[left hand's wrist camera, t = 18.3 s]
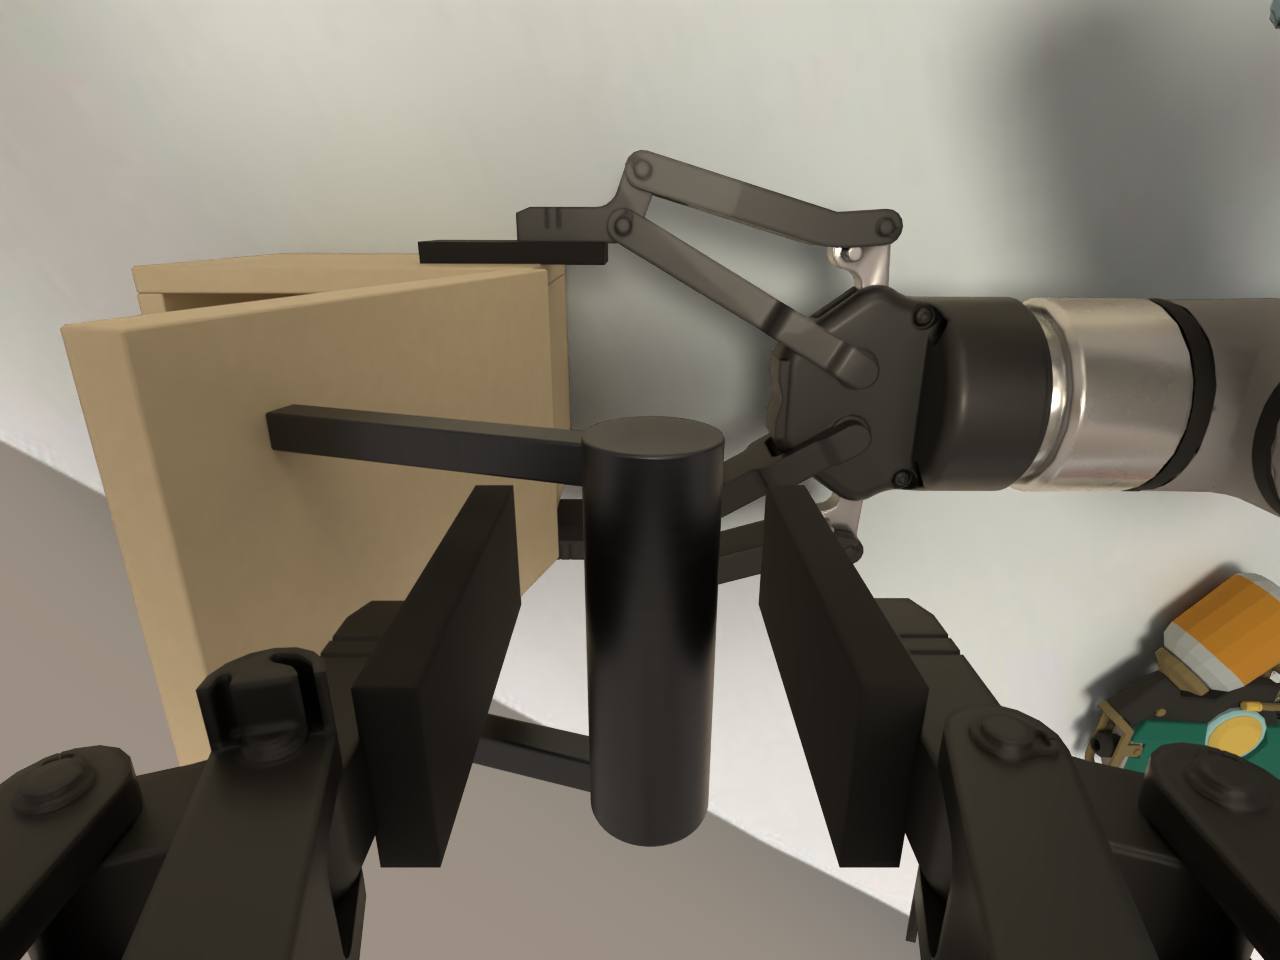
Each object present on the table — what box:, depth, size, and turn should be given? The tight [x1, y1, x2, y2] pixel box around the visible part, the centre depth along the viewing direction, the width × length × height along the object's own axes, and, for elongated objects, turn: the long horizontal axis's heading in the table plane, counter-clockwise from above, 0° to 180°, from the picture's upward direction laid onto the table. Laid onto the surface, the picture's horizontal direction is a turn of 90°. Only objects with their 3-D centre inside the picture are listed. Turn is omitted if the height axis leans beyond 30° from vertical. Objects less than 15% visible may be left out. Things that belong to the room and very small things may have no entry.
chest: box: [132, 254, 570, 508], centre depth 29 cm, size 13×10×10 cm
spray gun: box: [1085, 573, 1280, 780], centre depth 39 cm, size 4×17×15 cm
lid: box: [61, 269, 724, 847], centre depth 17 cm, size 14×10×9 cm
